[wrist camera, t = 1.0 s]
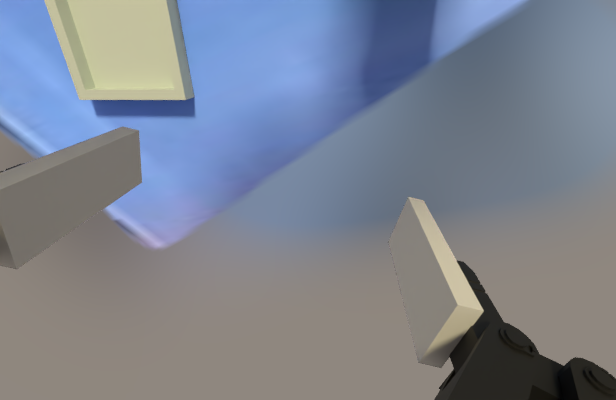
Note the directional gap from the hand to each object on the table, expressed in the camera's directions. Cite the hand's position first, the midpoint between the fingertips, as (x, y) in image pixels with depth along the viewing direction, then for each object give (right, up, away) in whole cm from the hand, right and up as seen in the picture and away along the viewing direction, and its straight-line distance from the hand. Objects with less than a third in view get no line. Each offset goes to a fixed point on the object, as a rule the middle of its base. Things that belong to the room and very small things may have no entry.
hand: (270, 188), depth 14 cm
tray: (-20, +19, +21) cm, 35 cm away
